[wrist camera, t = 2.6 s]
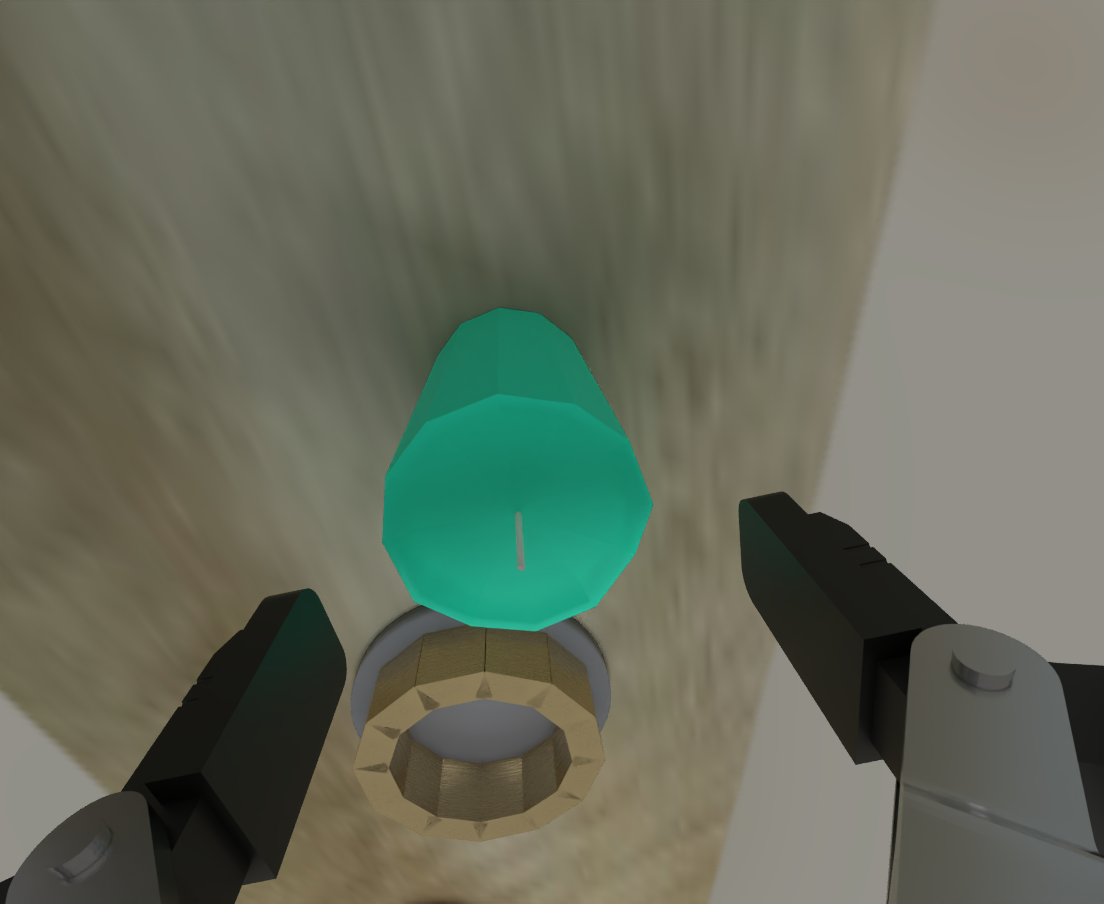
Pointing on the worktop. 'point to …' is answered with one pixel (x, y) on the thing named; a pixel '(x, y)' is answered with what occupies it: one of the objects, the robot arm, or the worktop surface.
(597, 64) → the worktop surface
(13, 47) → the worktop surface
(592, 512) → the candle
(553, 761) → the collar
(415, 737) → the dish
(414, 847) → the worktop surface
